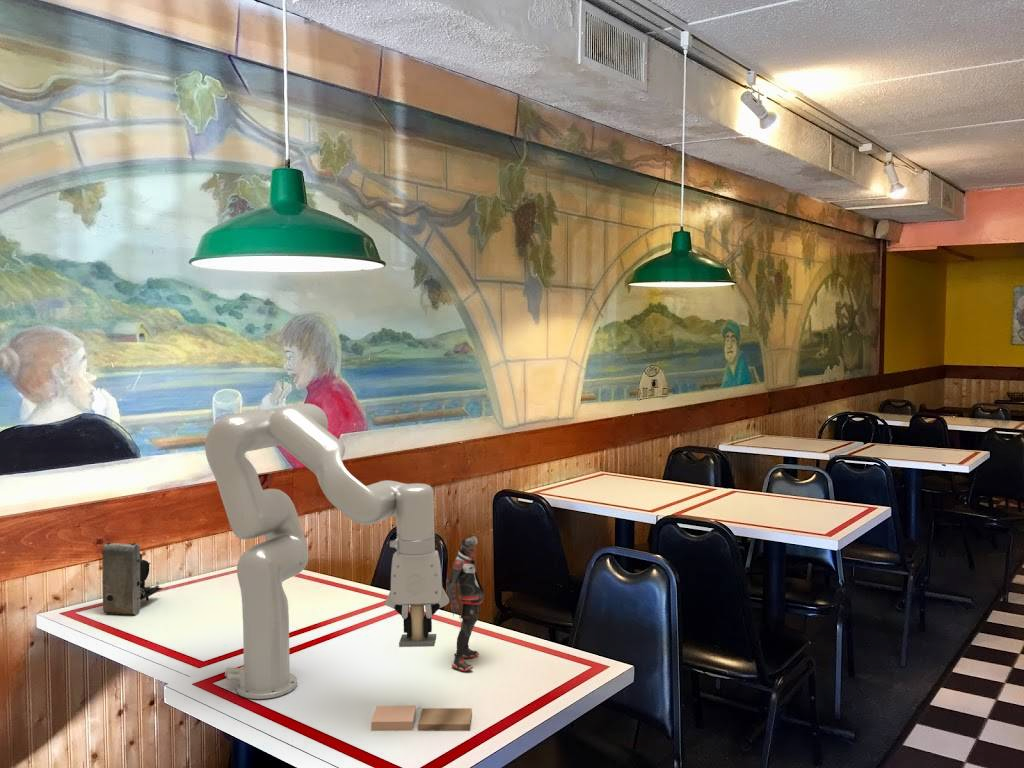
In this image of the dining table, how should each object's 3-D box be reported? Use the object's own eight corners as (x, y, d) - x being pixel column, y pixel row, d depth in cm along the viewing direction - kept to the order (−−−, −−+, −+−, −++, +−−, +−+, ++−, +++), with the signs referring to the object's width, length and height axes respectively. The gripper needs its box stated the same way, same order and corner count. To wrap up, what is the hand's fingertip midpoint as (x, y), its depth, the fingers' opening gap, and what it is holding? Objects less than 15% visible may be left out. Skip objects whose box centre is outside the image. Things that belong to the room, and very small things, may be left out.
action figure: (463, 675, 187) (462, 543, 186) (432, 661, 195) (431, 535, 194) (497, 662, 195) (496, 535, 193) (465, 650, 203) (464, 527, 201)
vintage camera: (165, 601, 243) (164, 533, 243) (134, 616, 228) (132, 544, 227) (134, 600, 244) (133, 532, 244) (101, 616, 229) (99, 543, 229)
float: (399, 647, 166) (398, 608, 166) (402, 638, 171) (401, 600, 171) (434, 646, 166) (433, 607, 166) (436, 637, 171) (435, 600, 171)
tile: (371, 721, 161) (412, 721, 161) (376, 705, 168) (416, 705, 168) (371, 732, 161) (412, 732, 161) (376, 716, 168) (416, 715, 168)
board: (418, 730, 161) (418, 724, 161) (422, 714, 168) (421, 708, 168) (469, 730, 161) (469, 724, 161) (471, 714, 168) (471, 708, 168)
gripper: (372, 551, 164) (374, 643, 165) (455, 549, 164) (457, 641, 165) (378, 542, 172) (380, 630, 173) (457, 540, 172) (459, 628, 173)
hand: (418, 635), depth 169 cm, fingers closed on float, 2 cm apart
